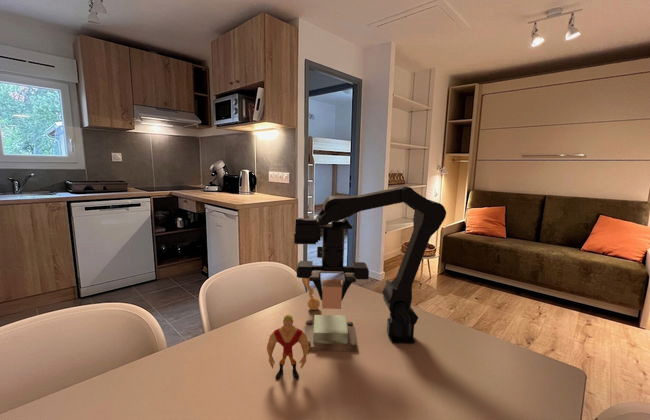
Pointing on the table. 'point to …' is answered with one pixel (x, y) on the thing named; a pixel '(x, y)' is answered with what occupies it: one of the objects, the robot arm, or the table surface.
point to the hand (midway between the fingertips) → (331, 299)
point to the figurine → (312, 302)
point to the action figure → (287, 344)
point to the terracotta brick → (331, 294)
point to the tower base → (332, 346)
